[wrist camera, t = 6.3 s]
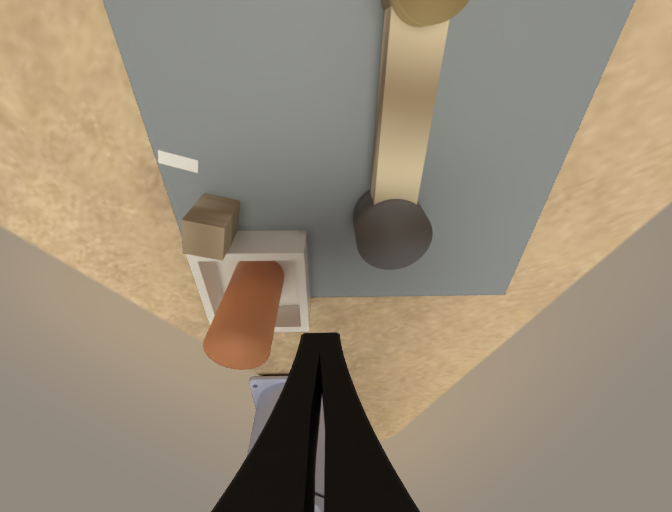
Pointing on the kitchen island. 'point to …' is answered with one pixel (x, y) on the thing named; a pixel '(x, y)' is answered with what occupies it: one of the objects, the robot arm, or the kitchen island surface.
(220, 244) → the stop post
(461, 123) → the board
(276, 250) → the dish
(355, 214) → the crank
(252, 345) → the pin
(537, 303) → the kitchen island surface
